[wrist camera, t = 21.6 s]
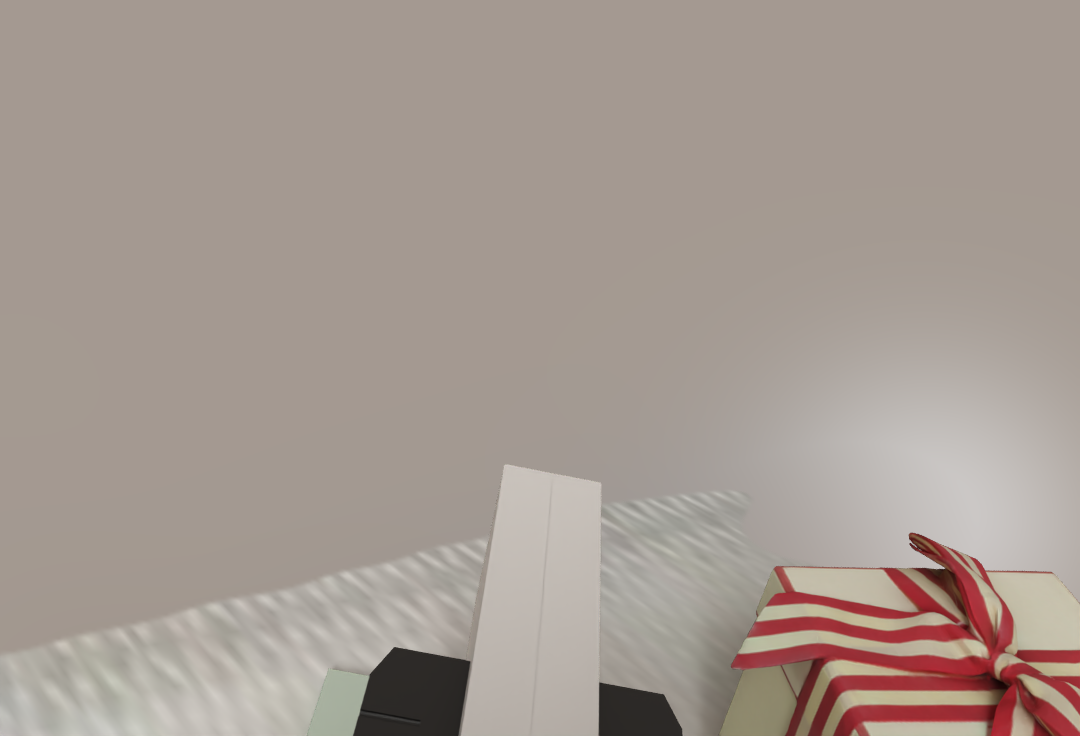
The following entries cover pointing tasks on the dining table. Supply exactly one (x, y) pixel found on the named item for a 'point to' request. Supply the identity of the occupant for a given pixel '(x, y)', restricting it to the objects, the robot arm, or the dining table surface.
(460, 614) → the dining table surface
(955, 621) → the gift box
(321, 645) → the dining table surface
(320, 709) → the mat
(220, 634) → the dining table surface
